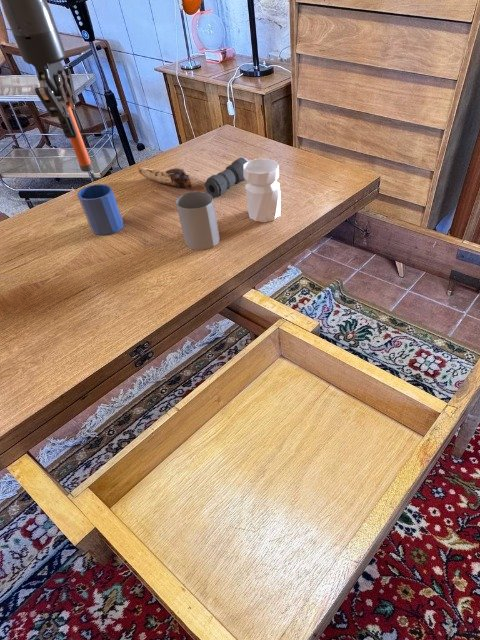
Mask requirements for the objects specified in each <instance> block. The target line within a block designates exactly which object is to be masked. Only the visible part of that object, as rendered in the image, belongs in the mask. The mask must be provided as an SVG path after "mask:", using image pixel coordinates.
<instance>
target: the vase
mask: <svg viewBox="0 0 480 640" xmlns="http://www.w3.org/2000/svg"><path fill="white" fill-rule="evenodd" d="M243 173H244V179H245V180H244V181H245V182H247V183H246V184H245V185H244V188H245V193H246V208H247V209H246V210H247V214H248V217H249V219H250V218H251V219H250V220H252V219H253V220H252V221H254V222H256V221H260V222H259V223H268V221H269V222H272V221H271V220H274V221H276V220H277V219H278V218H277V217H279V216H280V217H281V213H282V212H281V211H282V209H281V208H282V207H281V202H282V201H281V200H282V199H281V198H282V197H281V186H280V185H281V184H280V183H279V181H277V180H278V179H279V178H280V165H279V163H278V162H277V161H276V160H274V159H270V158H255V159H250V160H248V162H246V163H245V164H243ZM280 217H279V218H280ZM276 218H277V219H276ZM275 219H276V220H275Z"/></svg>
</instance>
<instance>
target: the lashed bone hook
mask: <svg viewBox="0 0 480 640" xmlns="http://www.w3.org/2000/svg"><path fill="white" fill-rule="evenodd" d="M138 173H139V174H140V175H141V176H143V177H144V178H146V179H147V180H149V181H154V182H156V183H159V184H162V185H168V186H172V187H177V188H191V187H193V184H192V181H191V179H190V177H189V174H187V173H186V170H185V169H184V168H179V167H177V168H175V167H174V168H170V169H168V170H165V171H160V170H157V169H152V168H148V167H143V166H140V167H138Z"/></svg>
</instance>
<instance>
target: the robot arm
mask: <svg viewBox="0 0 480 640" xmlns="http://www.w3.org/2000/svg"><path fill="white" fill-rule="evenodd" d="M0 4H1V7H2V11H3V13H4V16H5V19H6V21H7V24H8V26H9V29H10V31H11V34H12V36H13V39H14V41H15V43H16V45H17V48H18V50H19V53H20V56H21V58H22V61H24V62H25V64H27V65H31V66H33V67H34V69H35V73H36V78H37V80H38V83H39V87H35V88H34V91H35V94H36V96H37V97H38V99H39V100H40V101H41V104H42V105H43V107H44V108H45V109H46V111H47V112H48V114H49V116H50V117H51V118H57V119H58V121H59V124H60V126H61V129H62V131H63V134H64V136H65V138H67V139H69V138H75V137H76V136H77V133H76V130H75V128H74V125H73V122H72V120H71V117H70V116H69V112H68V108H67V105H70V107H71V109H72V112H73V115H74V118H75V120H76V123H77V126H78V129H79V131H80V132H81V130H82V128H81V125H80V121H79V119H78V116H77V114H76V106H75V105H76V104H78V102H77V96H76V92H75V85H74V80H73V76H72V71H71V69H70V68H68V67H66V68H64V67H63V64H62V61H64V60H65V59H66V57H67V53H66V51H65V48H64V44H63V42H62V38H61V36H60V32H59V30H58V27H57V25H56V21H55V19H54V16H53V13H52V10H51V7H50V5H49V3H48V1H47V0H0ZM61 105H62V107H61Z"/></svg>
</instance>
